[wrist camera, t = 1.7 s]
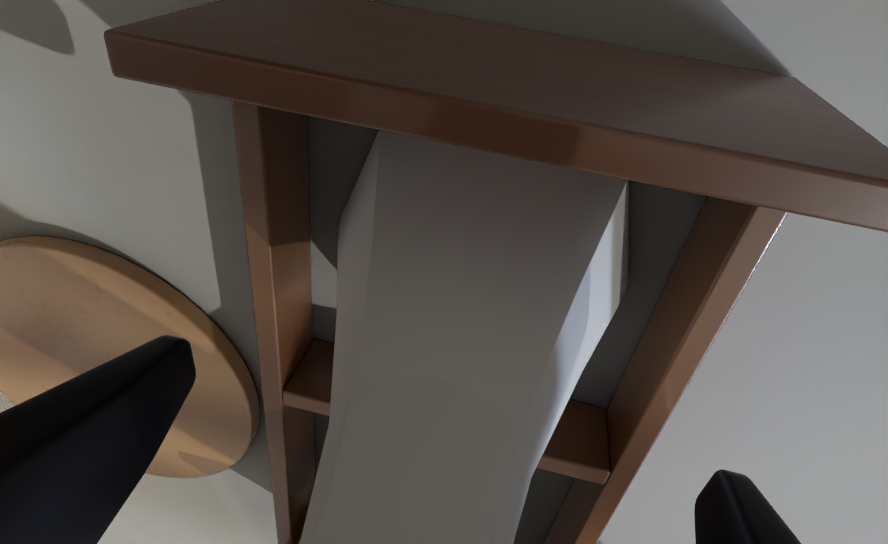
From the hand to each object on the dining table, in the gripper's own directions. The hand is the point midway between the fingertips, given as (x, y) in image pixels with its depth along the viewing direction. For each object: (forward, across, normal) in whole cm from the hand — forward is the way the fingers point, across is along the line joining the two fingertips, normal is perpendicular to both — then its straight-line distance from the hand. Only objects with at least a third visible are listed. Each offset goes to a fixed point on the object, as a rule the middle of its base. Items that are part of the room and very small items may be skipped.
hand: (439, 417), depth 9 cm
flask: (+6, 0, 0) cm, 6 cm away
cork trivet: (+5, +12, +8) cm, 16 cm away
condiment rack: (+5, 0, +5) cm, 7 cm away
